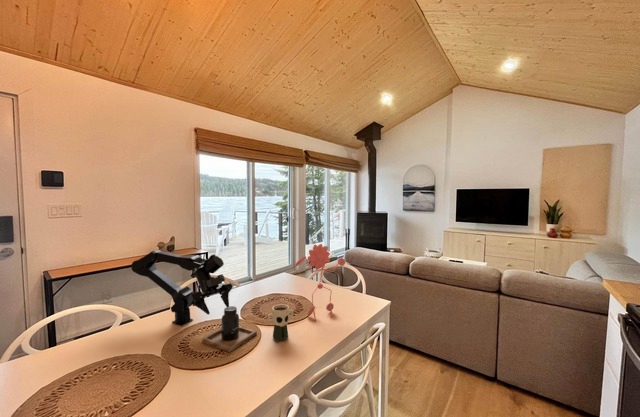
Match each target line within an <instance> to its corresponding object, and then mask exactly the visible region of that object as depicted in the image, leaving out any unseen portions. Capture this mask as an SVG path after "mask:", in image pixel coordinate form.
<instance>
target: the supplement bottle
mask: <svg viewBox="0 0 640 417" xmlns="http://www.w3.org/2000/svg"><path fill="white" fill-rule="evenodd" d="M223 310H224V311H223V314H222V316H221V328H222V329H221V328H220V329H221V337H222V339H223V340H225V341H231V340H235V339H236V338H238V336H239V326H240V315H239V314H238V313H237V312H238V311H237V310H238V309H237V307H236V306H230V305H229V307H224V309H223Z"/></svg>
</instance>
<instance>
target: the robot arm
mask: <svg viewBox="0 0 640 417" xmlns="http://www.w3.org/2000/svg"><path fill="white" fill-rule="evenodd" d="M157 261H158V262H163V263H168V264H173V265H175V266H176V265H177V266H180V268H181V269H183V270H186V271H192V273H191V274H190V277H191V278H196V281H197V283H198V289H201V290H198V291H194V290H192V289H191V288H190V287H189V286H184V287H181V286H179V285H178V284H177V283H176V282H174V281H173V280H171V279H170V278H169V277H168V276H167V275H165V274H164V273H163V272H162V271H160V270H159V269H158V268H157V266H156V262H157ZM223 266H224V260H223V259H222V258H221V257H219V256H217V255H216V254H215V253H213V254H211V255H210V256H209V257H208V258H203V257H201V256H200V255H198V254H186V255H185V254H184V255H183V254H178V253H174V252H173V253H172V252H168V251H162V250H160V249H155V250H152V251H150V252H149V253H148V254H146V255H144V256H143V257H140V258H139V259H135V260H134V261H132V263H131V265H130V268H131V269H130V270H131V271H132V272H133V273H135V274H137V275H139V276H141V277H145V278H146V277H147V278H148V279H149V280H150V281H152V282H154V283H155V284H156V285H157V286H158V287H160V288H161V289H162V290H163V291H165V293H167V294H169V295H170V296H171V299H172V301H173V303H174V304H172V306H170V311H171V312H172V313H174V320H173V321H171V324H174V325H176V326H179V327H181V326H184V325H186V324H188V323H191V322H192V321H194V319H193V318H191V309H190V307H191V306H193V307H197V308H198V309H200V310H201V311H202V312H204V313H205V314H206V315H210V311H209V308H208V306H207V303H206V301H205V298H208V297H211V296H214V295H217V294H219V295H220V298H221V300H222V302H223V304H224V306H226V307H230V302H229V301H230V300H229V299H230V298H229V296H230V294H229V293H230V292H232V291H231V290H232V289H233V288H234V286H233V284H232V283H230V282H227V283H223V282H225V281H226V279H225V276H224V275H223V274H218V275H217V277H214V276H211V274H215V273H216V272H217V271H218V270H219V269H221V268H222V267H223ZM220 285H221V286H220ZM219 287H220V288H219ZM226 307H225V308H226Z"/></svg>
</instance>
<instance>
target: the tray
mask: <svg viewBox="0 0 640 417" xmlns="http://www.w3.org/2000/svg"><path fill="white" fill-rule="evenodd" d="M221 329H222V327H221V328H219V329H217V330H215V331H214V332H211V333H210V334H208V335H206V336H204V337H203V338H201V340H202V341H201V342H202V343H203V342H204V343H203V344H206V343H207V345H208V344H209V346H211V345H212V347H213V348H216V347H217V349H219V350H221V351H225V352H227V353H231V352H233V351H235V350H236V349H238V348H239V347H240V345H241V346H242V345H244V344H245V343H247V342H248V341H249V339H250V338H251V339H252V337H253V336H254V337H256V336H257V331H256V330H253V329H250V328H246V327H244V326H240V325H239V336H238V338H236V339H235V340H231V341H225V340H223V339H222V337H221ZM255 335H256V336H255ZM254 337H253V338H254ZM251 339H250V340H251ZM247 340H248V341H247ZM246 341H247V342H246ZM244 342H245V343H244ZM243 343H244V344H243ZM237 347H238V348H237Z"/></svg>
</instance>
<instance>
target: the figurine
mask: <svg viewBox="0 0 640 417" xmlns="http://www.w3.org/2000/svg"><path fill="white" fill-rule="evenodd" d="M328 250H329V247H328V246H327V245H325V246H323V244H322V243H320V244H318V245H317V244H314V245H313V247H312V249H309V250H308V254H309V255H308V257H307V256H306V255H304V256H302V257H301V258H300V259H299V260H297V261H296V263H295V265H294V268H296V267H298V266H300V265H301V264H302V263H303V262H304V261H305V262H306V264H307V266H308V268H309V271H310V272H311V273H316V272H319V271H321V272H320V278H319V283H317V287H316V288H315V289H314V291H313V293H312V294H311V300H312V301H311V304H312V305H311V307H310V310H309V311H308V312H307V317H309V316H310V315H311V314H312V313H313V318H314V321H316V320H317V319H316V312H315V309H316V306H315V305H314V294H315V292H316V291H317V289H320V290H322V289H323V288H324V289H326V290H328V291H330V296H329V303H327V304H326V307H325V309H326V310H327V311H328V312H330V315H331V317H332V318H333V317H334V315H333V310H334V308H335V307H334V304H333V303H331V300H332V290H331V289H330V288H327V287H325V286H324V284H323V283H322V282H321V281H322V276H323V271H325V272H326V271H327V272H330V273H334V272H335V270H336V269H337V267H338V266H339V265H340V266H341V267H343V266H344V265H346V260H345V259H344V258H343V257H340V258H338V259H337V263H336V266H335V267H334V268H333V269H332V270H330V269H326V268H325V266H326V263H327V264H328V263H330V261H331V259H330V257H329V256H330V255H331V254H330V251H328ZM312 267H314V269H315V270H312ZM342 314H343V315H344V313H342Z"/></svg>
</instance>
